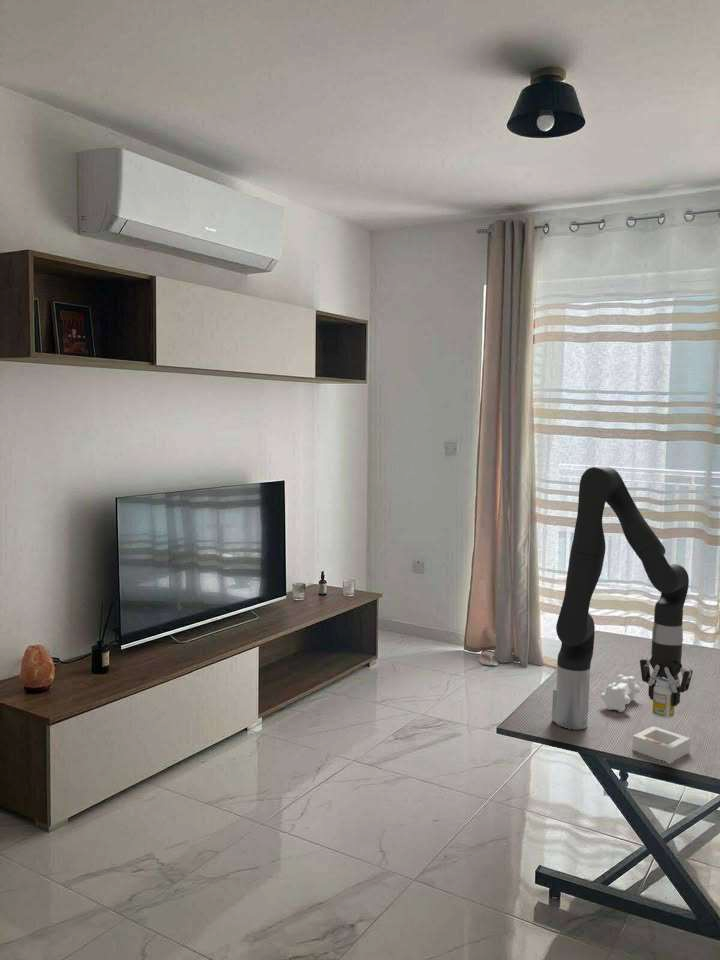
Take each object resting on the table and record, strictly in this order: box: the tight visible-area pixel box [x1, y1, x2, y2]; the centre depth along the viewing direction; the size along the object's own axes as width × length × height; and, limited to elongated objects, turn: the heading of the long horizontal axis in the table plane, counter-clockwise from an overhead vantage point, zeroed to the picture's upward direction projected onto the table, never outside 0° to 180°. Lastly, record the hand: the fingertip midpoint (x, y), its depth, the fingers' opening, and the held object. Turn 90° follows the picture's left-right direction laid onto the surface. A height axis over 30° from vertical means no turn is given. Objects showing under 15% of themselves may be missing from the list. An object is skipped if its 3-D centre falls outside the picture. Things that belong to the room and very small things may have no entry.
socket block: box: [631, 725, 691, 763], centre depth 213 cm, size 11×11×4 cm
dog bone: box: [600, 673, 641, 713], centre depth 247 cm, size 15×9×8 cm, turn 147°
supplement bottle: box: [652, 677, 675, 719], centre depth 212 cm, size 5×5×10 cm
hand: (663, 702), depth 212 cm, fingers closed on supplement bottle, 5 cm apart
